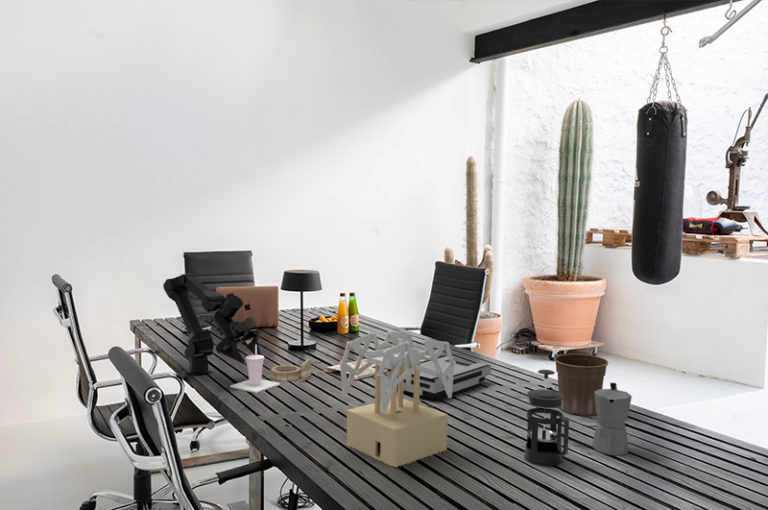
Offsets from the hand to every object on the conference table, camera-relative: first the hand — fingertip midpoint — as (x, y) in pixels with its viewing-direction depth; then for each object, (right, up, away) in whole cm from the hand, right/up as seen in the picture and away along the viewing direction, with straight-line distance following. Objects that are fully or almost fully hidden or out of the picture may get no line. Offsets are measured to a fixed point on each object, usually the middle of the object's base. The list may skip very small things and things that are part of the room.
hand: (252, 360), depth 230 cm
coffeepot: (+106, -15, -52) cm, 119 cm away
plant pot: (+107, -13, -21) cm, 110 cm away
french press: (+86, -16, -61) cm, 107 cm away
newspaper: (+42, -8, +28) cm, 51 cm away
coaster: (+1, -9, 0) cm, 9 cm away
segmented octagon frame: (+11, -8, +12) cm, 18 cm away
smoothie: (+1, -9, 0) cm, 9 cm away
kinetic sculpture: (+48, -15, -54) cm, 74 cm away
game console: (+65, -10, +2) cm, 66 cm away
